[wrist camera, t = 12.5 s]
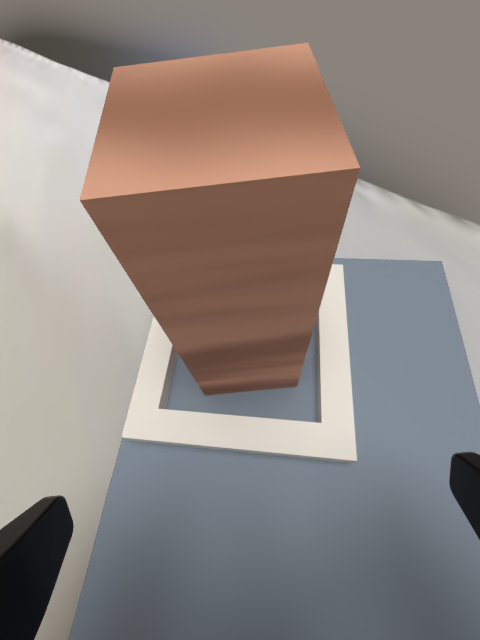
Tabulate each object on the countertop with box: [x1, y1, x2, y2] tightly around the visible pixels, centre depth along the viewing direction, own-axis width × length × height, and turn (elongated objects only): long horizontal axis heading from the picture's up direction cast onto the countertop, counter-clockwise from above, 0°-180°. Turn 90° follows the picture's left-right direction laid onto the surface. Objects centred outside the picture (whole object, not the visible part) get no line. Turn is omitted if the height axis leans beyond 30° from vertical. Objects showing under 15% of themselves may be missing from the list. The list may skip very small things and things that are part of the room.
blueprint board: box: [69, 258, 480, 640], centre depth 16 cm, size 22×18×2 cm
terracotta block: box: [80, 43, 360, 396], centre depth 12 cm, size 5×5×13 cm
